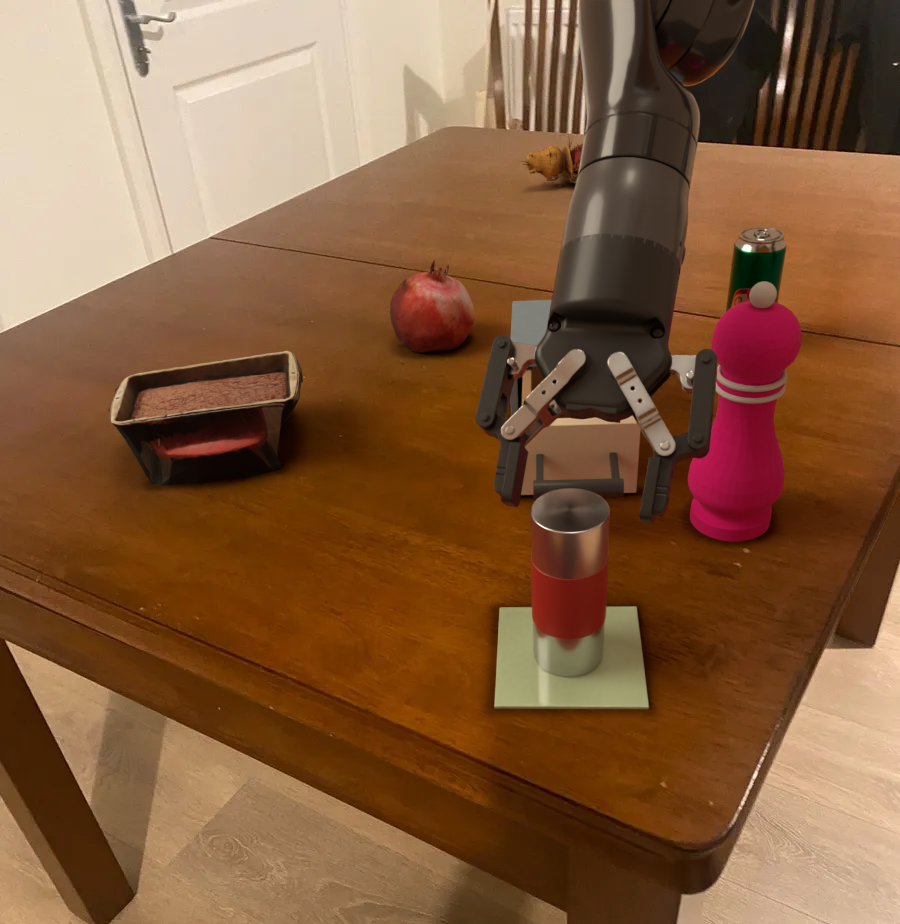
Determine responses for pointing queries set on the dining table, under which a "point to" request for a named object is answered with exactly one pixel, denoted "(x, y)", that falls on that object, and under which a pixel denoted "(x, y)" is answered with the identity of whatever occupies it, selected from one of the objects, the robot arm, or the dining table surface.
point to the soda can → (756, 262)
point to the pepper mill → (745, 419)
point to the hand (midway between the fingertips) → (576, 513)
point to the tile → (599, 689)
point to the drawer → (581, 453)
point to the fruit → (431, 311)
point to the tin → (569, 580)
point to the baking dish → (208, 417)
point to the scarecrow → (555, 162)
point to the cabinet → (527, 335)
